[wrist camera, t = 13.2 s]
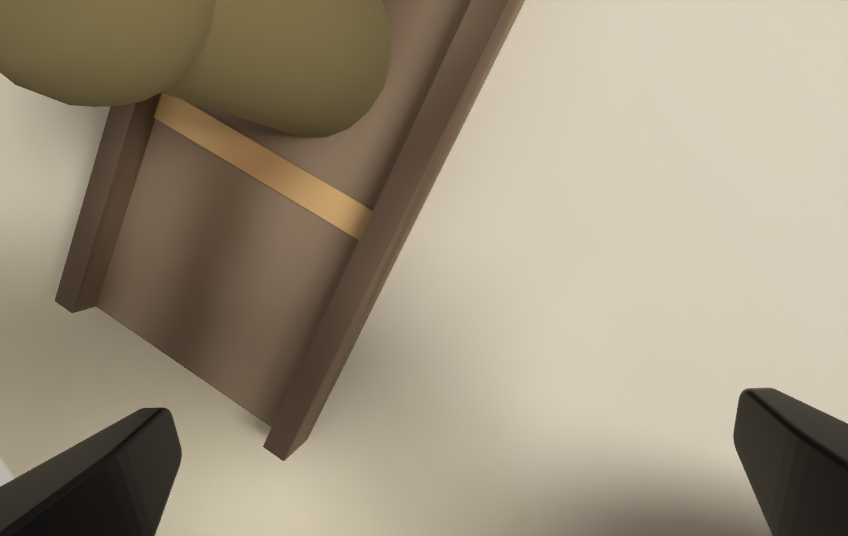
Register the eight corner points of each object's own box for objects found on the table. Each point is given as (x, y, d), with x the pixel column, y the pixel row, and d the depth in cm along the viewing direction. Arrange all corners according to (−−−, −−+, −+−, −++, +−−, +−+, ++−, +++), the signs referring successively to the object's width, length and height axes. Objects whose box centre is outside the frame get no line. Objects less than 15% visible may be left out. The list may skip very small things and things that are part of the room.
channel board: (568, -88, 17) (562, -113, 16) (306, 439, 24) (283, 461, 22) (251, -227, 20) (216, -263, 18) (90, 291, 26) (54, 300, 24)
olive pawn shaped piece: (241, -52, 20) (-145, -264, 10) (403, -41, 19) (141, -280, 8) (230, 126, 22) (-117, 100, 11) (379, 150, 20) (131, 147, 10)
